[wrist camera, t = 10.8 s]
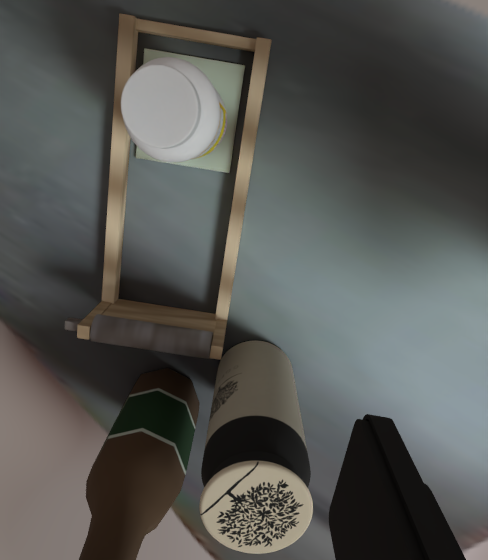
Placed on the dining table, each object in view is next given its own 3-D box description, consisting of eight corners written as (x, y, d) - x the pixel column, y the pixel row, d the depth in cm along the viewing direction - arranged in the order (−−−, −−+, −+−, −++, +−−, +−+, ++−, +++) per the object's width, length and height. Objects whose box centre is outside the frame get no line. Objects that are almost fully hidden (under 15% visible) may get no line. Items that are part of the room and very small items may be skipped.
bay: (108, 15, 35) (71, -18, 28) (270, 44, 36) (275, 17, 29) (91, 310, 43) (60, 341, 36) (225, 330, 44) (220, 366, 36)
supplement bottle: (140, 97, 37) (82, 71, 25) (209, 65, 36) (186, 22, 24) (172, 170, 39) (133, 180, 26) (239, 142, 38) (231, 138, 25)
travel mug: (307, 378, 45) (341, 519, 28) (249, 418, 47) (247, 575, 29) (260, 324, 43) (265, 439, 26) (202, 368, 45) (170, 503, 28)
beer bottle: (215, 402, 46) (177, 653, 23) (162, 439, 48) (77, 708, 25) (168, 351, 44) (77, 567, 21) (115, 391, 46) (-24, 631, 23)
